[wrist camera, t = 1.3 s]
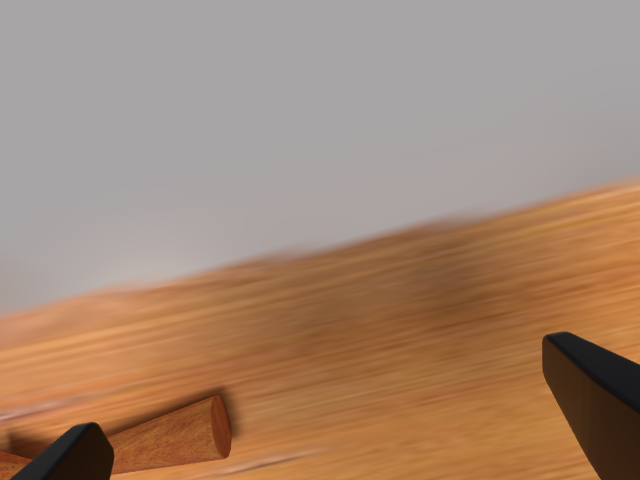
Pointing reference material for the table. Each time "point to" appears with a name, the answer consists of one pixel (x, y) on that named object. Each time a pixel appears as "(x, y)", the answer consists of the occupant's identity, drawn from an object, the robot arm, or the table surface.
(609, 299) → the table surface
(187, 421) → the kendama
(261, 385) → the table surface
